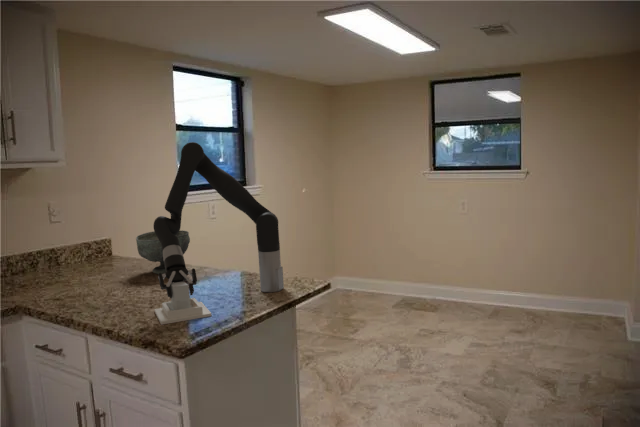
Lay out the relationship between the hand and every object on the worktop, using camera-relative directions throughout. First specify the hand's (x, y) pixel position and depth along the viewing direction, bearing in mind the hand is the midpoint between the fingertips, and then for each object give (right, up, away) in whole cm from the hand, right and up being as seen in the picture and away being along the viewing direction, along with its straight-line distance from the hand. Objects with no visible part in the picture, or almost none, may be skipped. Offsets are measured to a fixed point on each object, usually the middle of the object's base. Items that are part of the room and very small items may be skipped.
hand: (181, 295), depth 197 cm
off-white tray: (0, -7, +2) cm, 8 cm away
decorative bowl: (-29, 0, +78) cm, 83 cm away
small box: (-1, -6, +2) cm, 7 cm away
